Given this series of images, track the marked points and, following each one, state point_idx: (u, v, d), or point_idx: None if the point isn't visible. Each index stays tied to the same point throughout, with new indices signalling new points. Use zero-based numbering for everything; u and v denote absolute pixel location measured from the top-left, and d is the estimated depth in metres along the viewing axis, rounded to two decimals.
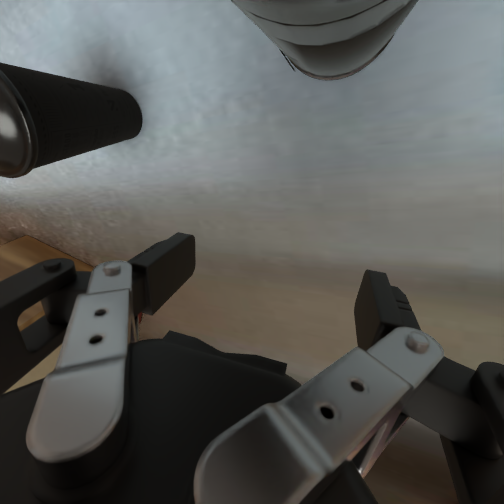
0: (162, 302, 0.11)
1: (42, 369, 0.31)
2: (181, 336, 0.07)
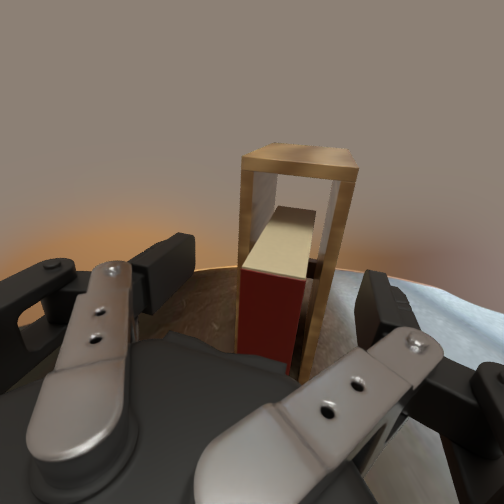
0: (162, 302, 0.11)
1: None
2: (182, 336, 0.07)
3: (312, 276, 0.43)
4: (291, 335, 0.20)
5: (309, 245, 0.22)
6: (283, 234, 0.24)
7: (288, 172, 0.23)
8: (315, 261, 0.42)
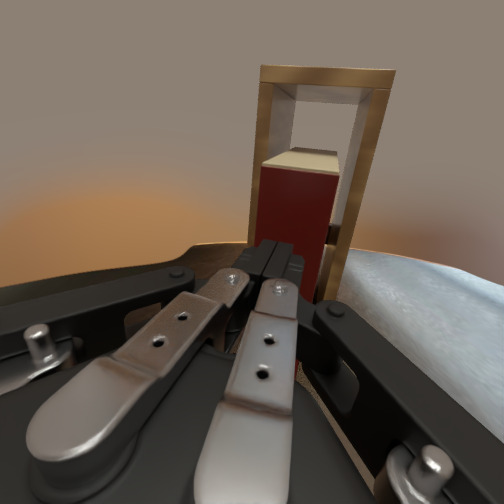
0: None
1: None
2: None
3: (326, 241, 0.40)
4: (317, 254, 0.17)
5: (337, 161, 0.19)
6: (304, 155, 0.21)
7: (313, 81, 0.20)
8: (330, 224, 0.39)
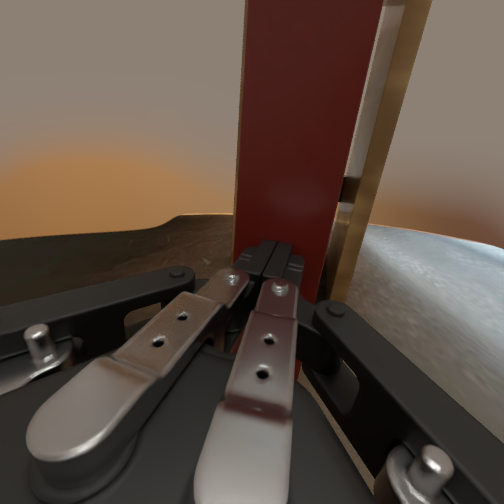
0: None
1: None
2: None
3: (339, 198, 0.32)
4: (348, 112, 0.10)
5: None
6: None
7: None
8: (344, 176, 0.31)
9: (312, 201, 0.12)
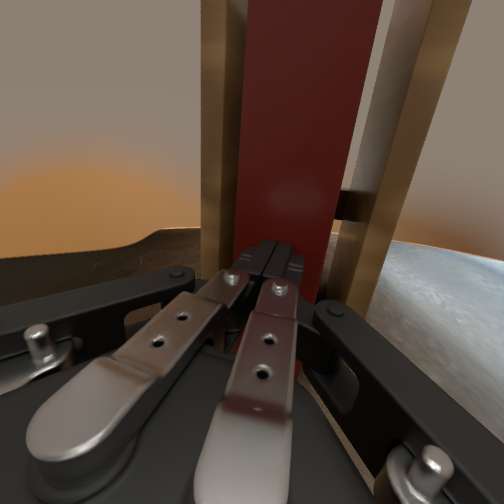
0: None
1: None
2: None
3: (340, 216, 0.26)
4: (346, 120, 0.10)
5: None
6: None
7: None
8: (347, 189, 0.26)
9: (311, 207, 0.12)
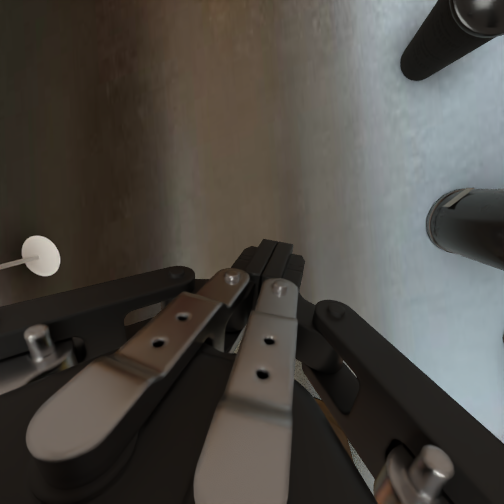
0: None
1: None
2: None
3: None
4: None
5: None
6: None
7: None
8: None
9: None
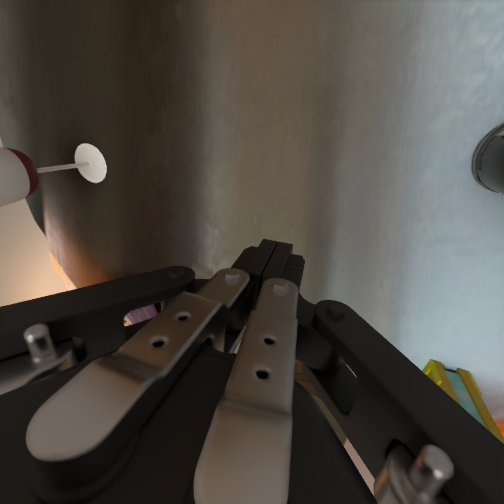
0: None
1: None
2: None
3: None
4: None
5: None
6: None
7: None
8: None
9: None
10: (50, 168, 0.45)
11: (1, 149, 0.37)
